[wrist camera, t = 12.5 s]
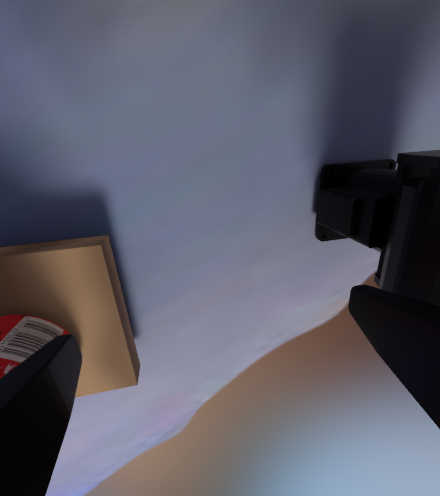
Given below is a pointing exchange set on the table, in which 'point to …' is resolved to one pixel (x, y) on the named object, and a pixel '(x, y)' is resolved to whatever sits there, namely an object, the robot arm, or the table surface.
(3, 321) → the soda can
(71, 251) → the wooden square platform
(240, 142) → the table surface
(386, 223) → the robot arm
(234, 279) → the table surface
